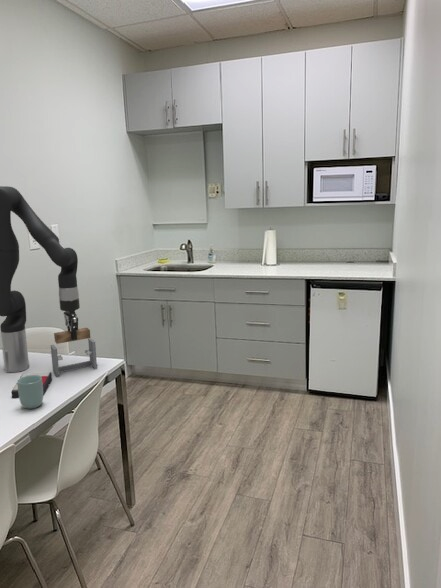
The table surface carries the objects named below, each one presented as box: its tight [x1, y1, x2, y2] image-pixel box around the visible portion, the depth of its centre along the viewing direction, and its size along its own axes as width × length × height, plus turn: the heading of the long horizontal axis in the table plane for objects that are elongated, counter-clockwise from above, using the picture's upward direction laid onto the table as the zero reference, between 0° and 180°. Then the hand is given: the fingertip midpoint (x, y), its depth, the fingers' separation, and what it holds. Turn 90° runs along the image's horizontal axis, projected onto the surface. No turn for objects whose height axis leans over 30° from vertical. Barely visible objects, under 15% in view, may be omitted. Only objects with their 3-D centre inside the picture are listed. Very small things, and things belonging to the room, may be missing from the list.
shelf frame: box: [50, 337, 98, 378], centre depth 182 cm, size 17×6×12 cm, turn 123°
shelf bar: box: [53, 327, 91, 345], centre depth 180 cm, size 13×4×4 cm, turn 123°
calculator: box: [10, 371, 53, 399], centre depth 166 cm, size 11×4×15 cm
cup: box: [16, 375, 44, 409], centre depth 151 cm, size 8×8×10 cm
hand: (72, 338), depth 180 cm, fingers closed on shelf bar, 4 cm apart
